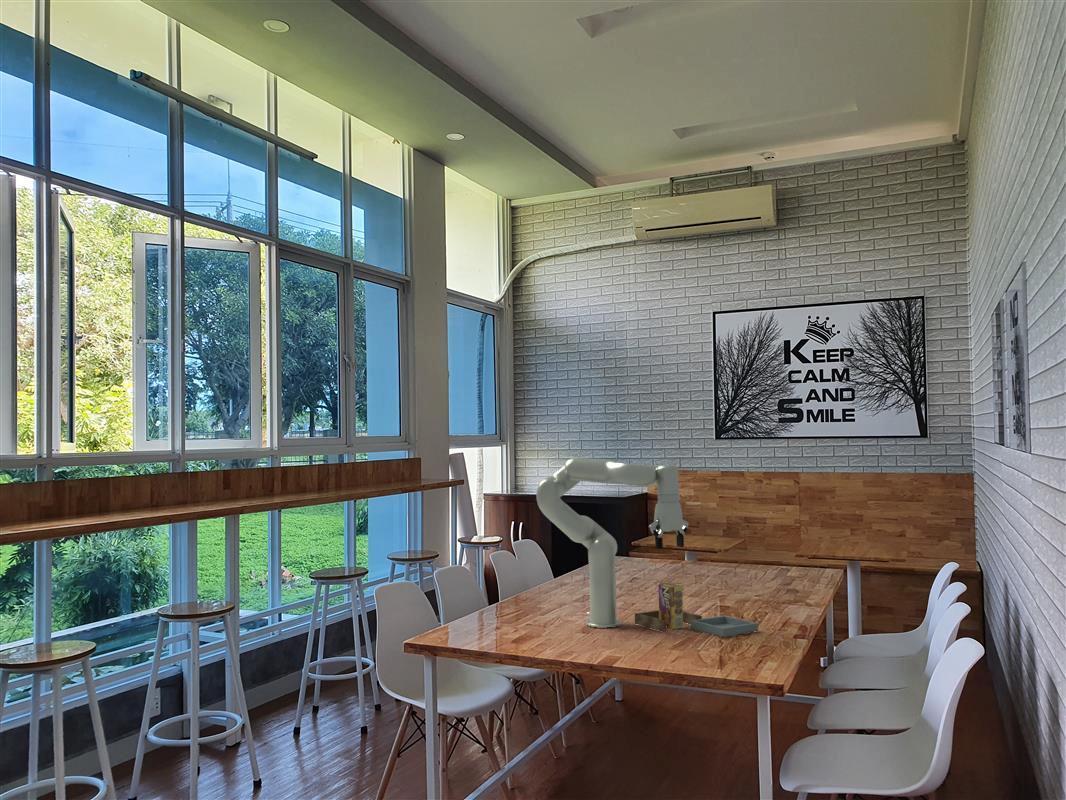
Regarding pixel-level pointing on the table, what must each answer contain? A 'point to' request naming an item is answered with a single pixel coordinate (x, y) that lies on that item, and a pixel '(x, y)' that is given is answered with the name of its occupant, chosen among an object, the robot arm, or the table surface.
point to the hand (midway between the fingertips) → (669, 547)
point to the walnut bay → (654, 622)
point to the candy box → (671, 604)
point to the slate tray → (724, 626)
